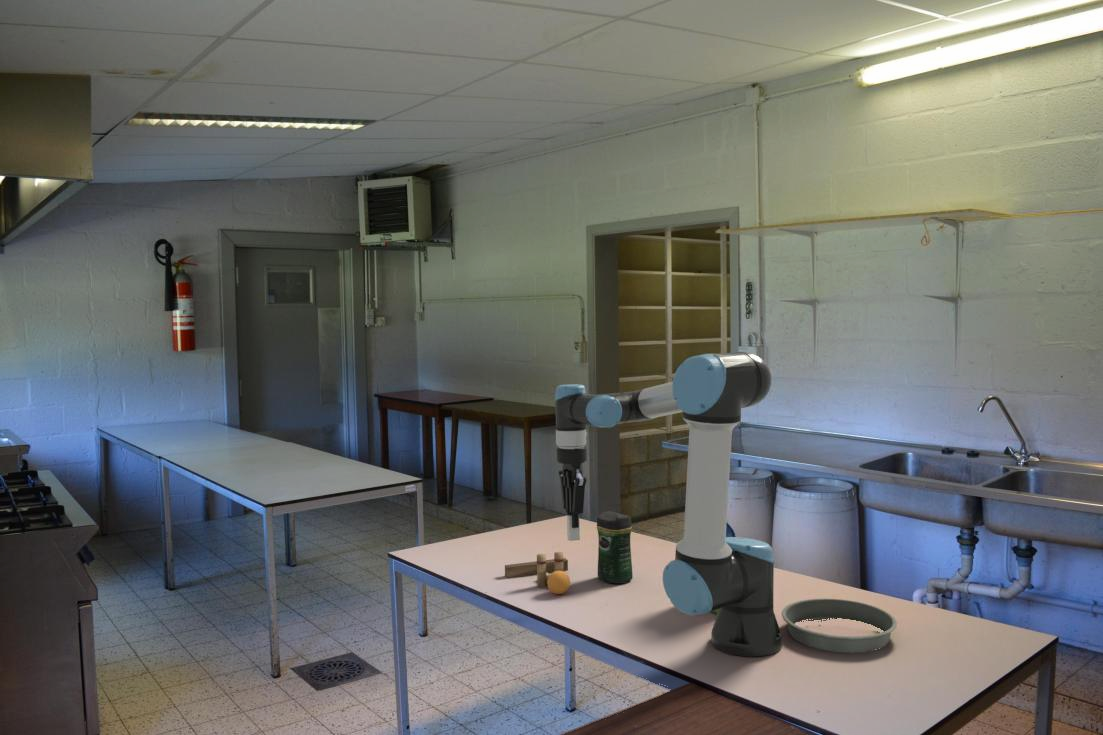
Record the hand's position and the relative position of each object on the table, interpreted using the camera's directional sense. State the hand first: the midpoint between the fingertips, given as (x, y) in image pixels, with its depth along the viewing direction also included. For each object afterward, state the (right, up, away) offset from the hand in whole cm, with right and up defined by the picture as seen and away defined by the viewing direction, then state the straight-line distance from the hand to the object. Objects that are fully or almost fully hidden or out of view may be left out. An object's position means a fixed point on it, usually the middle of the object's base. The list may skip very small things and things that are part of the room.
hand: (573, 539), depth 216 cm
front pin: (-5, -15, +14) cm, 21 cm away
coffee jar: (+12, -15, +21) cm, 28 cm away
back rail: (-10, -15, +28) cm, 33 cm away
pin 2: (-3, -16, +17) cm, 24 cm away
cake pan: (+59, -17, -22) cm, 65 cm away
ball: (-4, -13, +9) cm, 16 cm away
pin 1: (-8, -16, +16) cm, 24 cm away
